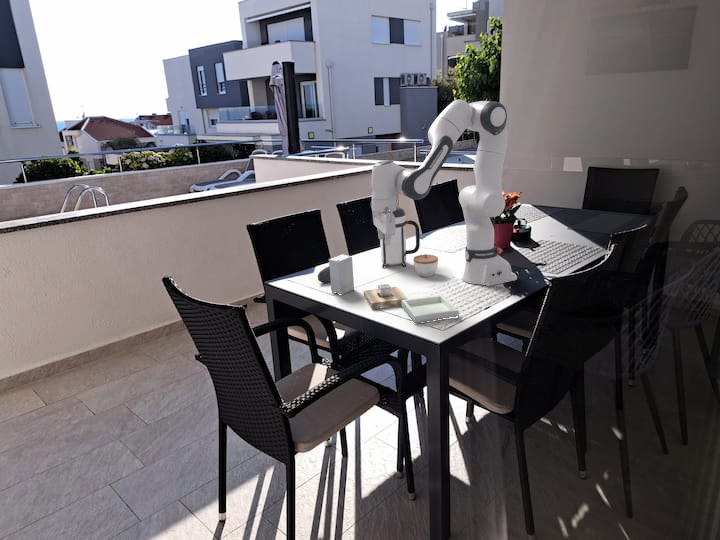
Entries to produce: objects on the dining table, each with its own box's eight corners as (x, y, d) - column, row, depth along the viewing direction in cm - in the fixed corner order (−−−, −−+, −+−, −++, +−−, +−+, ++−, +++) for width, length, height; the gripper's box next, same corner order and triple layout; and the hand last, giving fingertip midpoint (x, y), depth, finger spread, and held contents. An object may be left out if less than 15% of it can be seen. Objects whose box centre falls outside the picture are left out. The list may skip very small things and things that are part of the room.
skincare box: (344, 287, 209) (342, 253, 204) (355, 289, 205) (352, 255, 200) (330, 292, 203) (327, 258, 198) (340, 295, 199) (338, 260, 194)
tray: (442, 302, 186) (441, 294, 185) (458, 318, 171) (458, 310, 170) (401, 307, 183) (401, 300, 183) (414, 324, 168) (414, 316, 168)
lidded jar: (439, 271, 221) (439, 251, 219) (436, 278, 212) (436, 258, 209) (416, 270, 224) (415, 250, 221) (412, 278, 215) (411, 257, 212)
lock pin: (388, 298, 193) (388, 283, 192) (391, 301, 190) (390, 287, 188) (379, 299, 193) (378, 285, 191) (381, 303, 189) (380, 288, 187)
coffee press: (394, 271, 224) (392, 207, 215) (372, 264, 236) (368, 203, 227) (421, 263, 234) (419, 200, 225) (398, 256, 246) (395, 197, 237)
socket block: (397, 292, 199) (397, 286, 198) (407, 304, 186) (407, 298, 185) (363, 296, 196) (363, 290, 196) (371, 309, 183) (371, 303, 183)
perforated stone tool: (321, 285, 212) (320, 270, 210) (315, 282, 216) (313, 268, 214) (349, 277, 220) (348, 262, 218) (342, 275, 225) (341, 260, 222)
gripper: (399, 210, 172) (399, 248, 176) (385, 200, 191) (385, 235, 195) (382, 211, 171) (382, 249, 175) (369, 201, 190) (370, 236, 194)
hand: (384, 242), depth 185 cm, fingers open, 8 cm apart
